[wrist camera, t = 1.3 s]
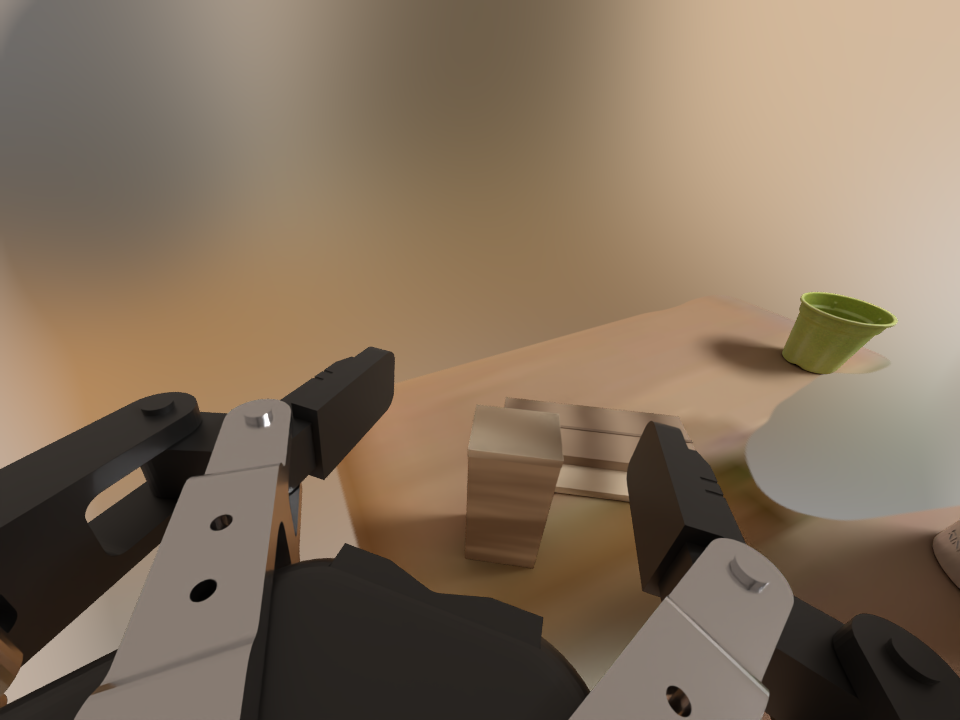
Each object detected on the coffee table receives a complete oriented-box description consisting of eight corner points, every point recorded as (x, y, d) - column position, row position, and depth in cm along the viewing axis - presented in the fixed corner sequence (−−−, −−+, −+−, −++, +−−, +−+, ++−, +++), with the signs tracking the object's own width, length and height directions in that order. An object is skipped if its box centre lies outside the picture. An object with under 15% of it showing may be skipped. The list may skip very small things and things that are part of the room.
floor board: (671, 429, 37) (679, 415, 36) (709, 512, 29) (720, 497, 28) (504, 410, 38) (505, 396, 37) (497, 484, 31) (499, 469, 29)
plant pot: (867, 389, 44) (919, 330, 39) (784, 375, 46) (823, 317, 41) (828, 350, 52) (867, 297, 47) (757, 340, 54) (788, 287, 49)
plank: (533, 568, 25) (563, 460, 18) (464, 558, 25) (468, 449, 18) (533, 522, 28) (559, 413, 21) (471, 513, 28) (476, 404, 21)
